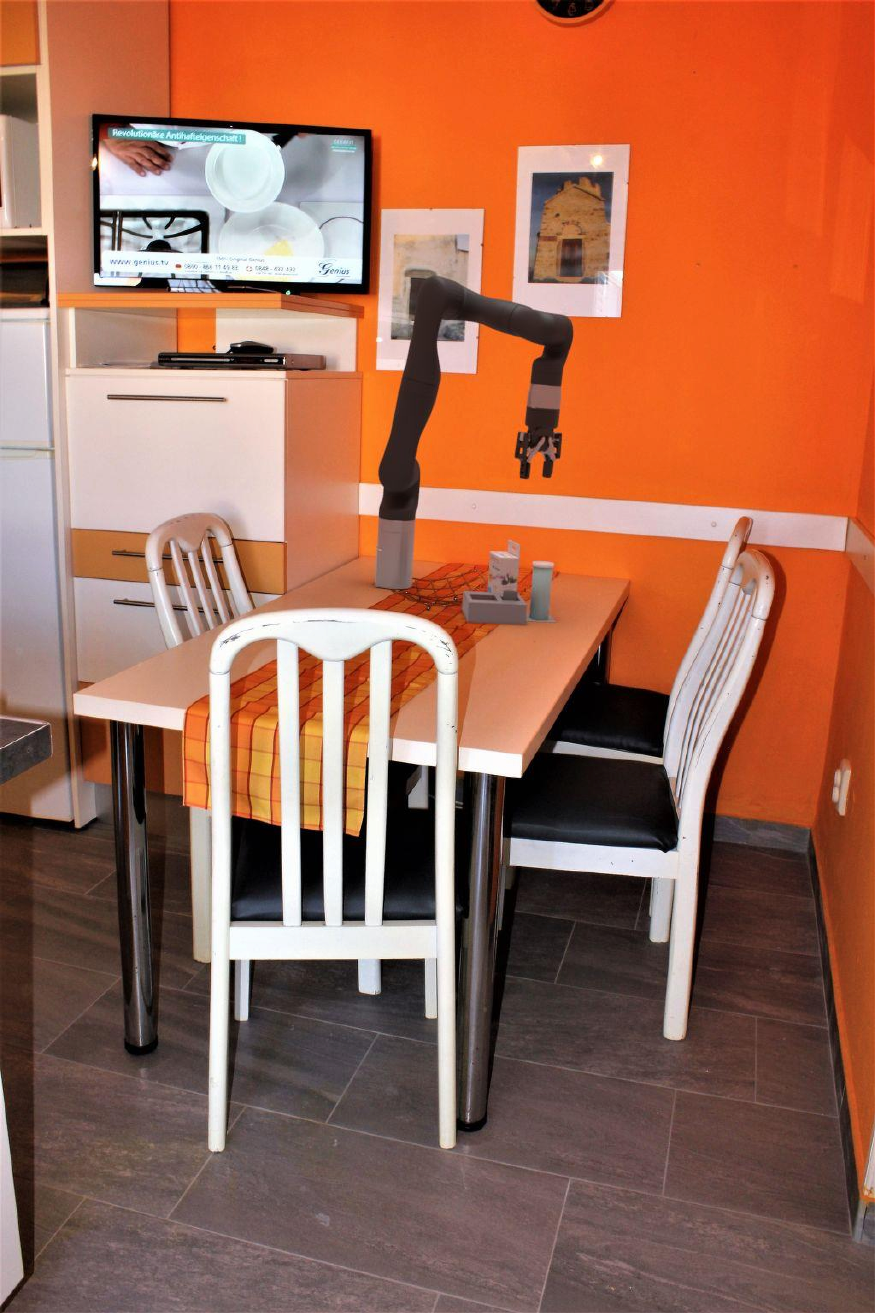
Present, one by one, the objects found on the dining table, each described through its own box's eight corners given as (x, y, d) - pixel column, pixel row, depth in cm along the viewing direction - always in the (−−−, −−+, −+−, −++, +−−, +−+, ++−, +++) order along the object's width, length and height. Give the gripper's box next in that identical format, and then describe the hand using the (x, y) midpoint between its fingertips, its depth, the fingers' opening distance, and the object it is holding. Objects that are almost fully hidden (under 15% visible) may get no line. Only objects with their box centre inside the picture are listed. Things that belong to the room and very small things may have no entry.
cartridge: (524, 617, 255) (528, 562, 252) (535, 614, 259) (540, 560, 256) (541, 621, 253) (546, 565, 249) (553, 618, 256) (558, 563, 253)
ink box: (485, 597, 277) (490, 538, 273) (504, 597, 278) (509, 538, 275) (497, 605, 269) (502, 544, 265) (516, 605, 271) (521, 544, 267)
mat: (525, 623, 252) (525, 620, 252) (520, 616, 259) (520, 613, 259) (555, 624, 253) (555, 622, 253) (550, 617, 260) (550, 615, 260)
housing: (467, 624, 248) (469, 602, 246) (462, 612, 259) (463, 590, 258) (525, 626, 249) (527, 605, 248) (517, 614, 260) (519, 593, 259)
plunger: (502, 616, 252) (504, 592, 251) (500, 613, 256) (502, 589, 254) (516, 617, 253) (518, 593, 251) (514, 614, 256) (516, 590, 254)
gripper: (548, 404, 258) (540, 475, 263) (510, 403, 248) (503, 476, 252) (575, 408, 254) (566, 479, 258) (537, 406, 243) (529, 481, 247)
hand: (535, 478), depth 255 cm, fingers open, 8 cm apart
